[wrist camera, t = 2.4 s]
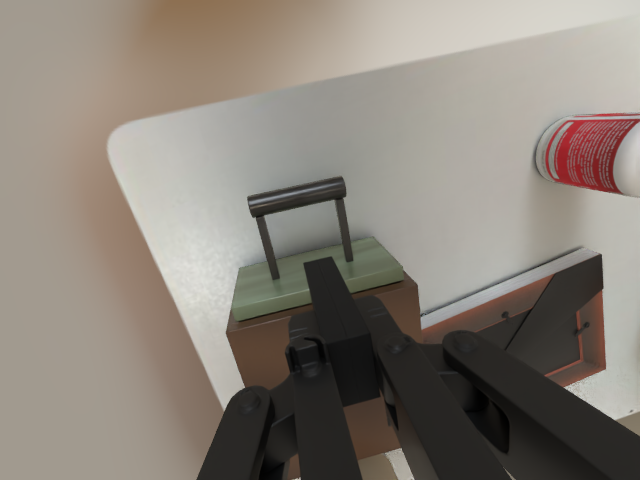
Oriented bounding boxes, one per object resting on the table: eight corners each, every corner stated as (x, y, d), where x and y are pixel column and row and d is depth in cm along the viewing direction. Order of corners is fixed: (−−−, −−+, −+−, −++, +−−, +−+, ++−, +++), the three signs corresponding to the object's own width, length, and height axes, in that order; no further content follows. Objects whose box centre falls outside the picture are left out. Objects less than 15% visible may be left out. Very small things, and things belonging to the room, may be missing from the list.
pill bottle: (538, 192, 32) (667, 223, 22) (527, 133, 30) (665, 136, 19) (594, 164, 32) (751, 182, 22) (588, 103, 30) (759, 90, 19)
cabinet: (237, 276, 30) (225, 332, 22) (378, 242, 31) (417, 284, 23) (276, 401, 36) (278, 483, 27) (394, 369, 37) (431, 439, 28)
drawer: (216, 194, 26) (199, 215, 20) (363, 162, 27) (393, 173, 21) (276, 390, 34) (278, 452, 27) (390, 359, 35) (418, 412, 28)
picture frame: (580, 245, 35) (397, 323, 35) (602, 254, 33) (407, 337, 32) (588, 356, 41) (432, 423, 40) (607, 370, 38) (443, 441, 38)
